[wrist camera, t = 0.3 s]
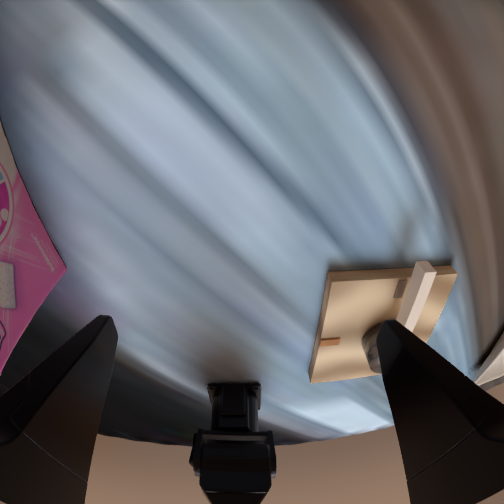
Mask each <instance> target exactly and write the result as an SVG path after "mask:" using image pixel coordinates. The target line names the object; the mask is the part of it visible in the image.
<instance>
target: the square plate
mask: <svg viewBox="0 0 504 504" xmlns="http://www.w3.org/2000/svg"><path fill="white" fill-rule="evenodd" d="M501 376H504V332H503V334H502V335H501V337H500V338H499V340H498V341H497V343H496V344H495V346H494V347H493V349H492V351H491V353H490V354H489V356H488V357H487V359H486V360H485V361H484V363H483V364H482V366H481V367H480V369H479V370H478V372H477V374H476V377H475V380H474V383H475V384H477V385H480V384H483V383H486V382H488V381H491V380H494V379H496V378H499V377H501Z"/></svg>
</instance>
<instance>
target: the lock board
mask: <svg viewBox="0 0 504 504" xmlns="http://www.w3.org/2000/svg"><path fill="white" fill-rule="evenodd" d="M433 268H434V269H435V270H436V272H437V273H436V275H435V278H434V281H433V284H432V286H431V289H430V292H429V294H428V297H427V299H426V302H425V304H424V307H423V309H422V311H421V314H420V316H419V318H418V321H417V323H416V325H415V327H414V330H413V332H412V333H414V334H415V335H416V336H417V337H419V338H420V339H421V340H422V341H424V342H425V343H427V341H428V339H429V337H430V335H431V333H432V331H433V329H434V327H435V325H436V323H437V321H438V319H439V316H440V314H441V312H442V310H443V308H444V306H445V303H446V301H447V299H448V296H449V294H450V292H451V289H452V287H453V284H454V282H455V279H456V277H457V274H458V273H457V272H456V271H455V270H454V269H453V268H452V266H451V265H449V266H433ZM413 270H414V268H398V269H378V270H356V271H332V272H328V273H327V280H326V286H325V292H324V298H323V304H322V309H321V315H320V320H319V325H318V330H317V335H316V340H315V345H314V350H313V355H312V360H311V364H310V369H309V373H308V374H309V379H310V383H320V382H329V381H338V380H345V379H353V378H360V377H366V376H373V375H378V374H380V373H374V372H372V371H371V369H370V367H369V364H368V361H367V358H366V356H365V353H364V350H363V348H362V339H363V337H364V335H365V334H366V333H367V332H368V331H369V330H370V329H371V328H372V327H373V326H375V325H377V324H378V323H381V322H383V321H385V320H390V319H395V320H396V318H397V316H398V313H399V311H400V308H401V305H402V302H403V300H404V297H405V294H406V291H407V288H408V285H409V282H410V279H411V276H412V273H413ZM381 374H382V373H381Z"/></svg>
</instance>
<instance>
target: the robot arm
mask: <svg viewBox="0 0 504 504" xmlns="http://www.w3.org/2000/svg"><path fill="white" fill-rule="evenodd" d="M117 341H118V333H117V330H116V327H115V325H114V322H113V319H112V317H111V316H108V315H99V316H97V317H96V318H95V319H94V320H92V321H91V322H90V323H89V324H87V325H86V326H85V327H83V328H82V329H81V330H80V331H79V332H77V333H76V334H75V335H74V336H72V337H71V338H70V339H69V340H67V341H66V342H65V343H64V344H62V345H61V346H60V347H59V348H58V349H56V350H55V351H54V352H53V353H52V354H50V355H49V356H48V357H47V358H46V359H44V360H43V361H42V362H41V363H40V364H38V365H37V366H36V367H35V368H34V369H33V370H31V371H30V372H29V374H27V375H25V376H24V377H23V378H22V379H21V380H20V381H18V382H17V383H16V384H15V385H14V386H12V387H11V388H10V389H8V390H7V391H6V392H4V393H3V394H2V395H1V396H0V504H84V503H85V495H86V490H87V482H88V476H89V470H90V465H91V459H92V455H93V450H94V445H95V440H96V436H97V431H98V427H99V423H100V418H101V414H102V410H103V406H104V402H105V399H106V395H107V391H108V387H109V384H110V380H111V375H112V369H113V363H114V357H115V352H116V347H117ZM376 345H377V350H378V355H379V361H380V366H381V372H382V377H383V382H384V386H385V389H386V393H387V397H388V400H389V404H390V408H391V412H392V416H393V420H394V424H395V427H396V432H397V436H398V440H399V445H400V449H401V454H402V459H403V464H404V469H405V474H406V479H407V486H408V491H409V497H410V503H411V504H504V404H502V403H501V402H499V401H498V400H497V399H495V398H494V397H492V396H491V395H490V394H488V393H487V392H486V391H484V390H483V389H482V388H480V387H479V386H478V385H477V384H475V383H474V382H473V381H472V380H470V379H469V378H468V377H467V376H465V375H464V374H463V373H462V372H461V371H459V370H458V369H457V368H456V367H455V366H453V365H452V364H451V363H450V362H448V361H447V360H446V359H445V358H444V357H442V356H441V355H440V354H439V353H437V352H436V351H435V350H434V349H432V348H431V347H430V346H429V345H427V344H426V343H425V342H424V341H422V340H421V339H420V338H419V337H417V336H416V335H415V334H414V333H412V332H411V331H410V330H408V329H407V328H406V327H405V326H403V325H402V324H401V323H399V322H398V321H397V320H395V319H390V320H385V321H384V322H383V323H382V325H381V328H380V330H379V332H378V335H377V337H376ZM207 389H208V393H209V397H210V401H211V405H212V422H211V430H203V429H199V428H198V433H195V434H194V439H193V447H192V451H191V455H190V459H189V463H190V465H191V466H192V467H193V469H194V472H195V476H199V477H200V486H201V489H202V491H203V494H204V495H205V497H206V498H207V500H208V501H209V503H210V504H261V502H262V501H263V499H264V498H265V496H266V494H267V492H268V491H269V489H270V487H271V478H275V475H276V454H275V447H274V441H273V434H272V430H269V431H259V425H258V410H259V409H260V396H261V385H260V384H257V383H254V384H208V387H207Z"/></svg>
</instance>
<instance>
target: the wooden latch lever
mask: <svg viewBox="0 0 504 504" xmlns="http://www.w3.org/2000/svg"><path fill="white" fill-rule="evenodd" d="M436 273H437V272H436V270H435V269H434V268H433V267H432V266H431V264H430V263H429V262H428V261H416V263H415V267H414V270H413V273H412V276H411V279H410V282H409V285H408V288H407V291H406V294H405V297H404V300H403V302H402V305H401V308H400V311H399V313H398V316H397V318H396V320H397V321H398V322H399V323H401V324H402V325H403V326H405V327H406V328H407V329H408V330H410V331H411V332H413V330H414V327H415V325H416V323H417V321H418V318H419V316H420V314H421V311H422V309H423V307H424V304H425V302H426V299H427V297H428V294H429V292H430V289H431V286H432V284H433V281H434V278H435V275H436ZM383 322H384V321H383ZM383 322H381V323H378V324H377V325H375V326H373V327H372V328H371V329H370V330H369V331H368V332H367V333H366V334H365V335H364V337H363V339H362V348H363V350H364V353H365V356H366V358H367V361H368V364H369V367H370V369H371V371H372V372H374V373H380V374H381V373H382V372H381V366H380V361H379V355H378V350H377V345H376V337H377V335H378V332H379V330H380V328H381V325H382V323H383Z"/></svg>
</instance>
